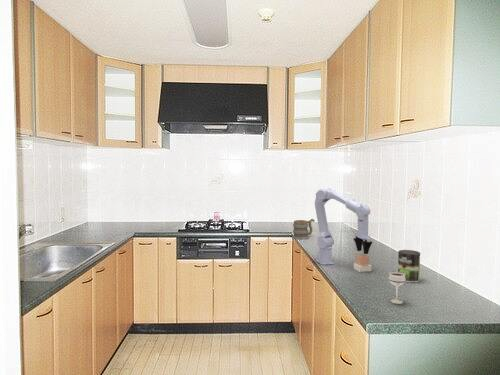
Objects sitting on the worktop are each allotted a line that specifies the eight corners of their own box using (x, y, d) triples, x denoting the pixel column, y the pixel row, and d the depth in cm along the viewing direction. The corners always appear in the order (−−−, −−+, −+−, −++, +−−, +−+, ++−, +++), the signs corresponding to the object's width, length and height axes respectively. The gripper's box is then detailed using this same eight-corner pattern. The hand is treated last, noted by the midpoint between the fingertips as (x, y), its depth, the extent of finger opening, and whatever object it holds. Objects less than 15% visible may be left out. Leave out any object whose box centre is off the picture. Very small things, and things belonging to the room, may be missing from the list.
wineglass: (400, 298, 162) (401, 271, 161) (408, 304, 155) (408, 275, 155) (385, 298, 162) (385, 271, 161) (392, 304, 155) (392, 275, 154)
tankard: (297, 240, 295) (298, 221, 294) (289, 237, 306) (289, 219, 306) (319, 238, 303) (319, 219, 302) (310, 235, 314) (310, 217, 314)
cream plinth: (353, 268, 211) (353, 263, 210) (365, 267, 212) (365, 262, 212) (359, 271, 204) (359, 266, 204) (371, 271, 205) (371, 265, 205)
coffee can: (413, 284, 182) (414, 255, 182) (393, 279, 190) (394, 251, 189) (423, 279, 189) (424, 252, 188) (404, 275, 197) (404, 248, 196)
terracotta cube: (356, 263, 210) (356, 254, 209) (364, 263, 211) (364, 254, 210) (360, 265, 205) (360, 256, 204) (368, 265, 206) (368, 256, 205)
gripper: (376, 229, 200) (376, 254, 201) (363, 225, 215) (362, 249, 215) (364, 230, 199) (363, 255, 200) (351, 226, 213) (351, 249, 214)
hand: (362, 252), depth 207 cm, fingers open, 7 cm apart
